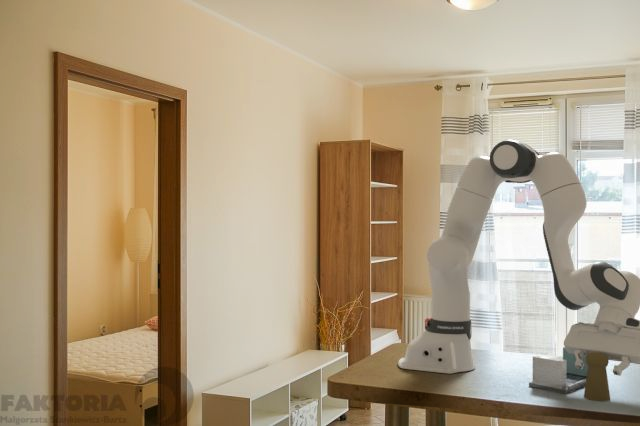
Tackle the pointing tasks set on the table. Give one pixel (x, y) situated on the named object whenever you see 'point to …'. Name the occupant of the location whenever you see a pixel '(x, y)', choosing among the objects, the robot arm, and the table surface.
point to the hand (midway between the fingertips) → (597, 370)
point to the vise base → (554, 376)
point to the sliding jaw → (571, 364)
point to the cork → (597, 377)
